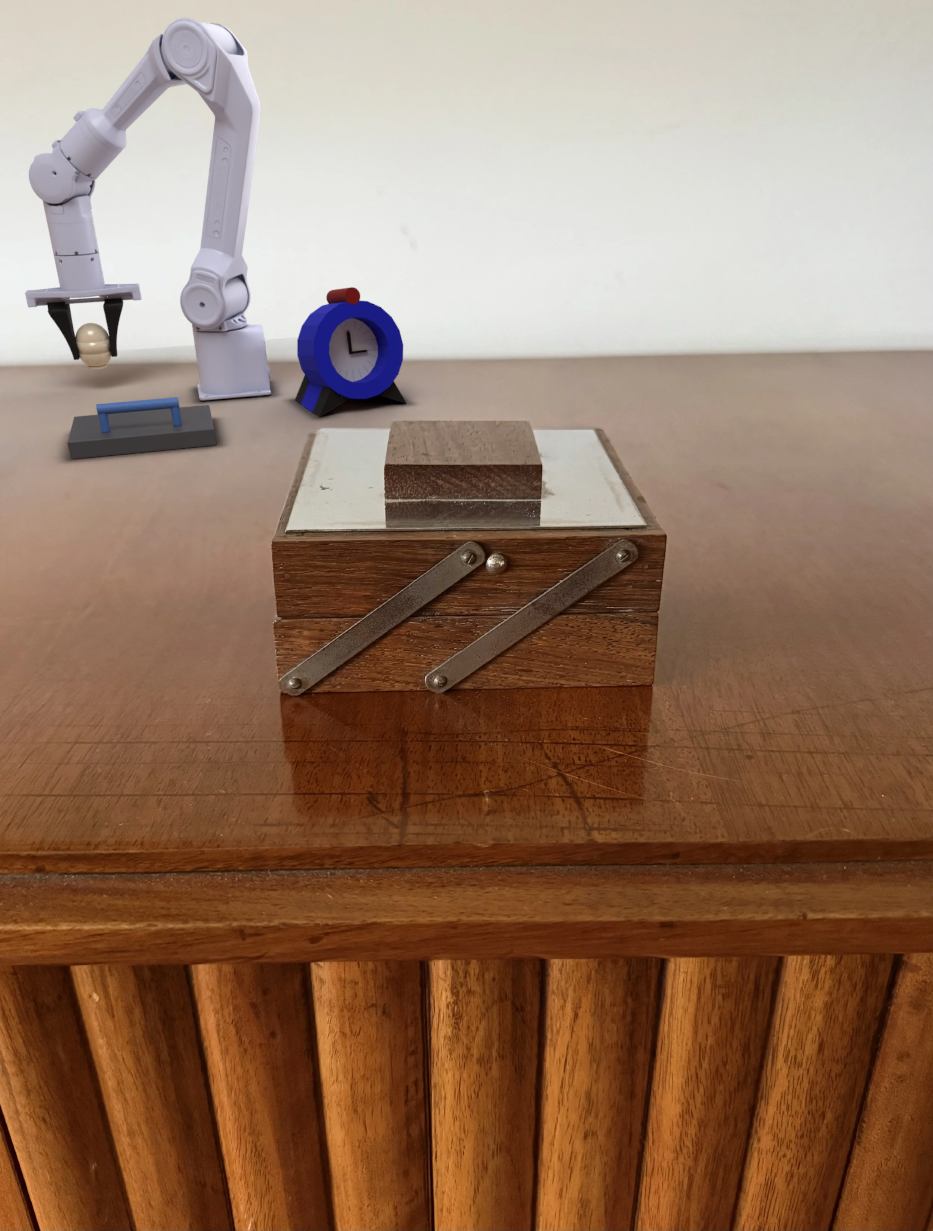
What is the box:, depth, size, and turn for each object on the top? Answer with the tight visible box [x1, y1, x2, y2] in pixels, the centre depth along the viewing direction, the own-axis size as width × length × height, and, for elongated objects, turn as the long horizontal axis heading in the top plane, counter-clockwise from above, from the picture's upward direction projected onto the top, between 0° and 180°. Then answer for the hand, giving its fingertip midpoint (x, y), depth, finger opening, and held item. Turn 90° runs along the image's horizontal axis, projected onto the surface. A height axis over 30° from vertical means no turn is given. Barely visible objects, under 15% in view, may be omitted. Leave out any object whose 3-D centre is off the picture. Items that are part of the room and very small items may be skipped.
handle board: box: [67, 396, 217, 460], centre depth 116 cm, size 16×11×5 cm
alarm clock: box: [294, 286, 408, 418], centre depth 128 cm, size 12×12×15 cm
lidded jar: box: [75, 322, 112, 370], centre depth 136 cm, size 4×4×6 cm
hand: (96, 356), depth 137 cm, fingers closed on lidded jar, 4 cm apart
